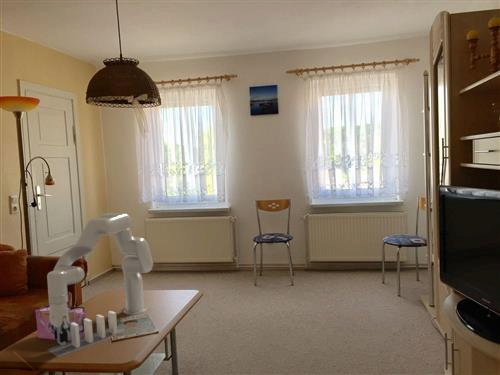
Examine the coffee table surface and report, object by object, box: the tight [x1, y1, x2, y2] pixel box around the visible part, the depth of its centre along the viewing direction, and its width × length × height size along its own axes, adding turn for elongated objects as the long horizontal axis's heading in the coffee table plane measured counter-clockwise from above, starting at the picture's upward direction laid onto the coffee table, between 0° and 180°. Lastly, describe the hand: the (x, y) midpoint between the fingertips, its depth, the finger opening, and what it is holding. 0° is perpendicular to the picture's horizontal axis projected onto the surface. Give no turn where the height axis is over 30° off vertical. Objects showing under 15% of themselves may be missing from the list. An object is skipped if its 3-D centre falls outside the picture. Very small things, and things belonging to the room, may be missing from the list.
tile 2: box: [95, 314, 106, 339], centre depth 191 cm, size 5×2×10 cm, turn 46°
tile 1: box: [107, 310, 118, 334], centre depth 195 cm, size 5×2×10 cm, turn 46°
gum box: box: [35, 304, 86, 342], centre depth 194 cm, size 24×8×14 cm, turn 72°
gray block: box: [56, 324, 67, 346], centre depth 178 cm, size 5×2×10 cm, turn 46°
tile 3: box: [83, 317, 94, 343], centre depth 187 cm, size 5×2×10 cm, turn 46°
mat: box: [46, 324, 141, 358], centre depth 191 cm, size 12×40×1 cm, turn 136°
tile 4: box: [70, 322, 80, 348], centre depth 182 cm, size 5×2×10 cm, turn 46°
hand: (61, 339), depth 178 cm, fingers closed on gray block, 4 cm apart
